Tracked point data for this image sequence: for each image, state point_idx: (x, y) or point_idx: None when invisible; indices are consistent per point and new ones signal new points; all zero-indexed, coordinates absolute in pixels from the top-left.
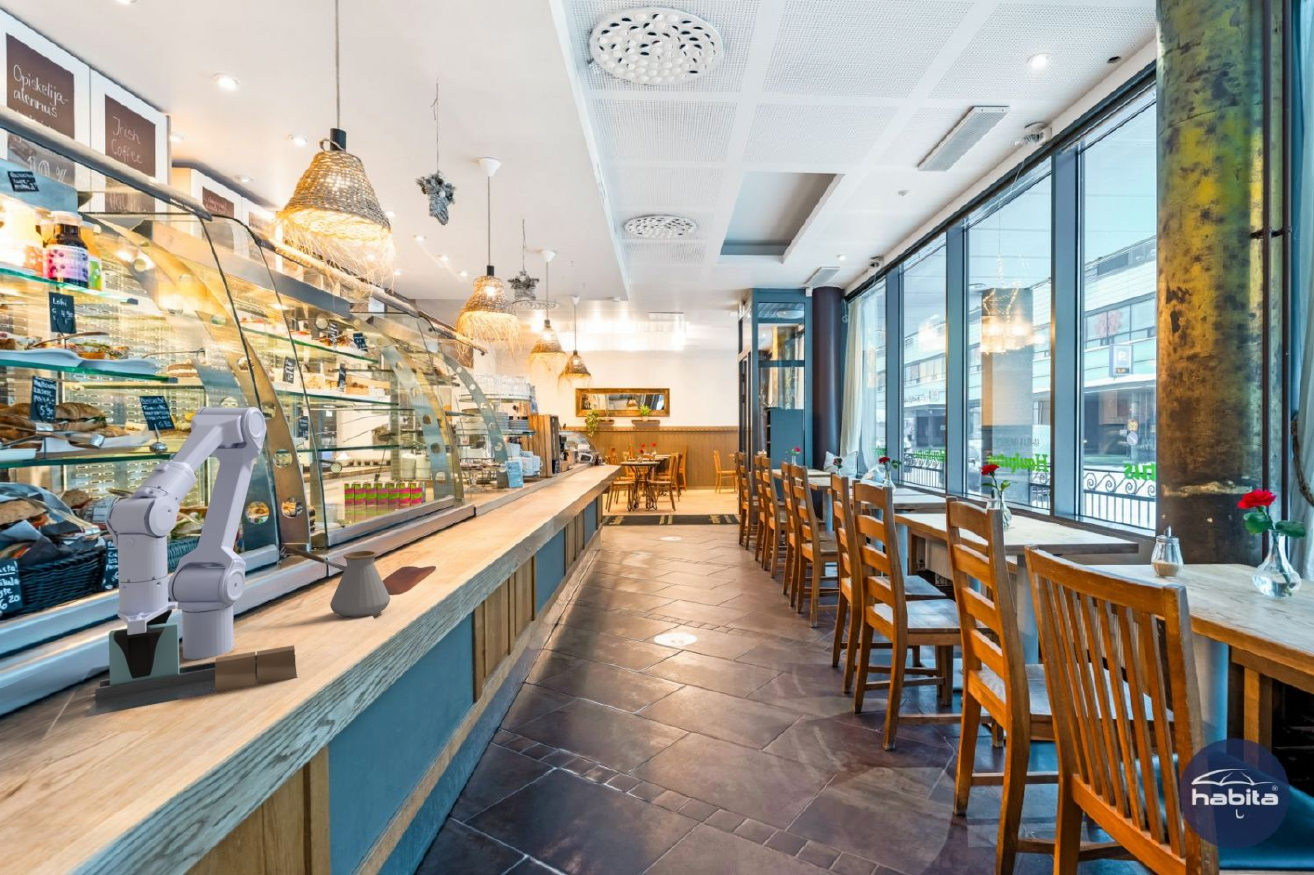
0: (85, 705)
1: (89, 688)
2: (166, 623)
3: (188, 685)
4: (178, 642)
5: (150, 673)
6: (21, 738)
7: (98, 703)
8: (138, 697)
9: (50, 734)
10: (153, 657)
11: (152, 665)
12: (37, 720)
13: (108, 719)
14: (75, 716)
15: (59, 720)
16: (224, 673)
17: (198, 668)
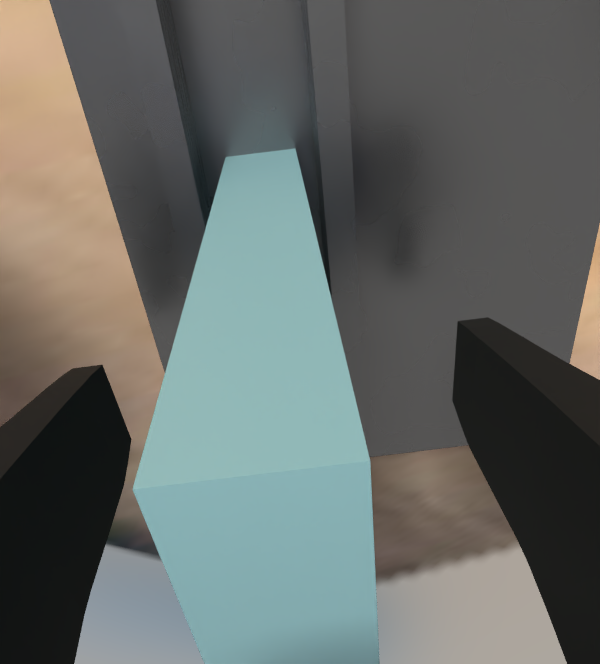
0: None
1: (124, 507)
2: (194, 612)
3: (388, 62)
4: (216, 271)
5: (495, 322)
6: None
7: (420, 435)
8: (440, 306)
9: None
10: (590, 378)
11: (531, 343)
12: (396, 540)
13: None
14: (427, 462)
15: (437, 491)
16: None
17: (166, 33)
